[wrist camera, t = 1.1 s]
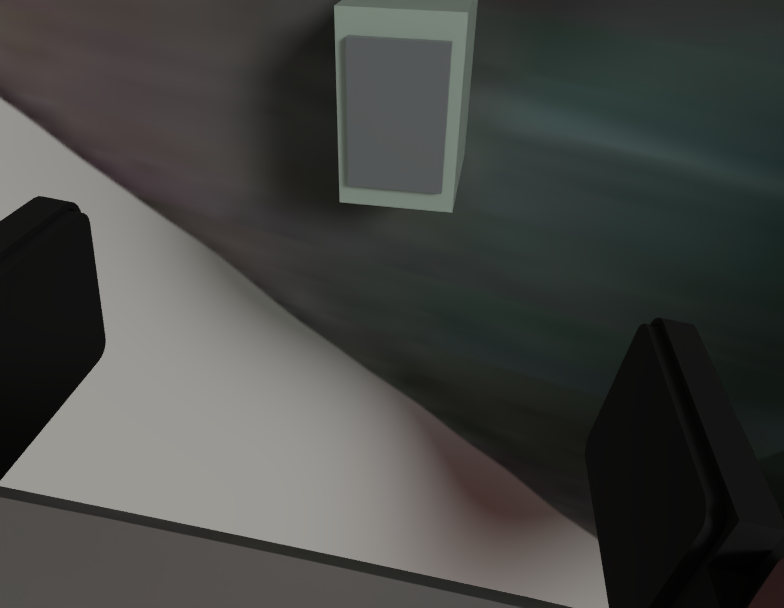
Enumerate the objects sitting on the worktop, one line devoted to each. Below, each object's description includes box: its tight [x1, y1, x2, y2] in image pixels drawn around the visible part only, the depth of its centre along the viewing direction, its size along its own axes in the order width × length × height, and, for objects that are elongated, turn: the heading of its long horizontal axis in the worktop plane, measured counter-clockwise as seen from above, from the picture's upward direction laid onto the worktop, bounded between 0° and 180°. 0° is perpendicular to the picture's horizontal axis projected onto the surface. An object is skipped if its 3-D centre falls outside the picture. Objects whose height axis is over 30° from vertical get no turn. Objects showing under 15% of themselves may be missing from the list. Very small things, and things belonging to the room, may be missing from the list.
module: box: [334, 0, 478, 213], centre depth 28 cm, size 5×8×7 cm, turn 179°
